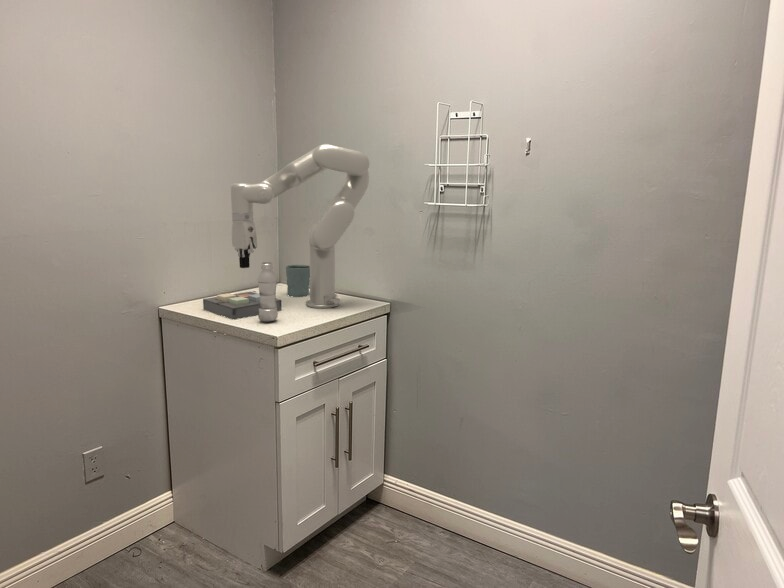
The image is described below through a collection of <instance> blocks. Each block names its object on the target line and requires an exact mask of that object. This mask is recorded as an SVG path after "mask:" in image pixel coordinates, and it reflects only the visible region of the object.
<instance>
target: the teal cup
mask: <svg viewBox="0 0 784 588" xmlns="http://www.w3.org/2000/svg"><path fill="white" fill-rule="evenodd" d="M285 274H286V275H285V276H286V285H287V286H286V287H287V296H288V295H289V296H288V297H291V296H293V297H292V298H303V296H305V297H308V296H309V295H310V265H308V264H307V265H306V264H289V265H286V266H285ZM307 295H308V296H307Z"/></svg>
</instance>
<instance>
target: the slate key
mask: <svg viewBox="0 0 784 588" xmlns="http://www.w3.org/2000/svg"><path fill="white" fill-rule="evenodd" d="M248 299H249V300H250V301H254V302H259V301H260V294H259V293H257V294H254V295H248Z"/></svg>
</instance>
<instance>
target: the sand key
mask: <svg viewBox="0 0 784 588" xmlns="http://www.w3.org/2000/svg"><path fill="white" fill-rule="evenodd" d="M233 294H234V293H223V294H222V293H221V294H217V295H216V297H217V300H220V301H223V302H225V301H229V298H235V297H236V295H233Z"/></svg>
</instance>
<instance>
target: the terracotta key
mask: <svg viewBox="0 0 784 588" xmlns="http://www.w3.org/2000/svg"><path fill="white" fill-rule="evenodd" d="M248 295H251V294H241V295H236V297H244V298H248Z"/></svg>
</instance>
